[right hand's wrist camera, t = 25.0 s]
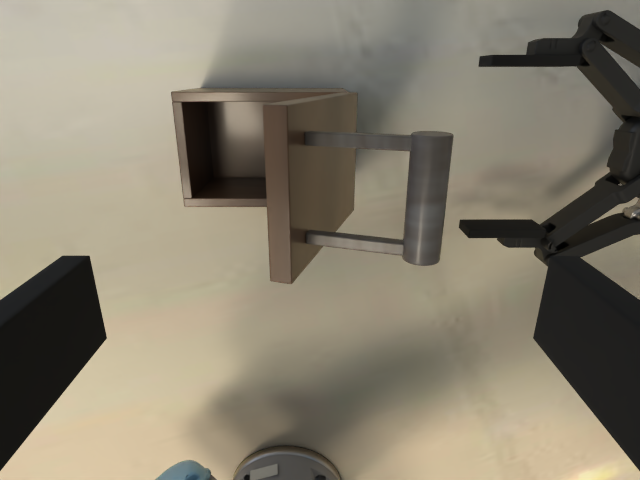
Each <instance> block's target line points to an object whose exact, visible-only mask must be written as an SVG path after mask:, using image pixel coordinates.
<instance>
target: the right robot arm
mask: <svg viewBox="0 0 640 480" xmlns="http://www.w3.org/2000/svg"><path fill="white" fill-rule="evenodd" d="M106 338H107V337H106V332H105V327H104V323H103V318H102V313H101V308H100V304H99V299H98V294H97V289H96V285H95V280H94V275H93V270H92V265H91V261H90V256H62V257H60V258H59V259H57V260H56V261H55V262H53V263H52V264H50V265H49V266H48V267H46V268H45V269H43V270H42V271H41V272H39V273H38V274H36V275H35V276H34V277H32V278H31V279H29V280H28V281H27V282H25V283H24V284H22V285H21V286H20V287H18V288H17V289H15V290H14V291H12V292H11V293H10V294H8V295H7V296H5V297H4V298H3V299H1V300H0V471H1V469H2V468H3V467H4V466H5V464H6V463H7V462H8V461H9V459H10V458H11V457H12V456H13V454H14V453H15V452H16V451H17V449H18V448H19V447H20V446H21V444H22V443H23V442H24V441H25V439H26V438H27V437H28V436H29V434H30V433H31V432H32V431H33V429H34V428H35V427H36V426H37V424H38V423H39V422H40V421H41V420H42V418H43V417H44V416H45V415H46V413H47V412H48V411H49V410H50V408H51V407H52V406H53V405H54V403H55V402H56V401H57V400H58V398H59V397H60V396H61V395H62V393H63V392H64V391H65V390H66V388H67V387H68V386H69V385H70V383H71V382H72V381H73V380H74V378H75V377H76V376H77V375H78V373H79V372H80V371H81V370H82V368H83V367H84V366H85V365H86V363H87V362H88V361H89V360H90V358H91V357H92V356H93V355H94V353H95V352H96V351H97V350H98V348H99V347H100V346H101V345H102V343H103V342H104V341H105V340H106ZM533 338H534V340H535V341H536V342H537V343H538V345H539V346H540V347H541V348H542V350H543V351H544V352H545V353H546V355H547V356H548V357H549V358H550V360H551V361H552V362H553V363H554V365H555V366H556V367H557V368H558V370H559V371H560V372H561V373H562V375H563V376H564V377H565V378H566V380H567V381H568V382H569V383H570V385H571V386H572V387H573V388H574V390H575V391H576V392H577V393H578V395H579V396H580V397H581V398H582V400H583V401H584V402H585V403H586V405H587V406H588V407H589V408H590V410H591V411H592V412H593V413H594V415H595V416H596V417H597V418H598V420H599V421H600V422H601V423H602V424H603V426H604V427H605V428H606V429H607V431H608V432H609V433H610V434H611V436H612V437H613V438H614V439H615V441H616V442H617V443H618V444H619V446H620V447H621V448H622V449H623V451H624V452H625V453H626V454H627V456H628V457H629V458H630V459H631V461H632V462H633V463H634V464H635V466H636V467H637V468H638V469H639V471H640V300H639V299H637V298H636V297H635V296H633V295H632V294H630V293H629V292H627V291H626V290H625V289H623V288H622V287H620V286H619V285H618V284H616V283H615V282H613V281H612V280H611V279H609V278H608V277H606V276H605V275H604V274H602V273H601V272H599V271H598V270H597V269H595V268H594V267H592V266H591V265H590V264H588V263H587V262H585V261H584V260H583V259H581V258H580V257H578V256H550V261H549V265H548V270H547V275H546V280H545V285H544V289H543V294H542V299H541V304H540V308H539V313H538V318H537V323H536V327H535V332H534V337H533Z"/></svg>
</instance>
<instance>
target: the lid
mask: <svg viewBox="0 0 640 480" xmlns="http://www.w3.org/2000/svg"><path fill="white" fill-rule="evenodd" d="M356 124H357V93H355V92H341V93H334V94H328V95H321V96H315V97H308V98H302V99H295V100H289V101H283V102H276V103H270V104H264V105H263V127H264V150H265V172H266V194H267V217H268V239H269V262H270V280H271V281H274V282H280V283H287V284H292V283H293V282H294V281H295V279H296V278H297V277H298V276H299V275H300V273H301V272H302V271H303V270H304V269H305V267H306V266H307V265H308V264H309V263H310V262H311V260H312V259H313V258H314V257H315V256H316V254H317V253H318V252H319V251H320V250H321V248H322V247H323V246H328V247H336V248H344V249H353V250H361V251H369V252H377V253H385V254H394V255H402V258H403V259H404V260H405V261H406V262H408V263H411V264H415V265H421V266H428V265H434V264H436V263H438V262H439V260H440V252H441V243H442V234H443V225H444V216H445V207H446V198H447V189H448V180H449V171H450V162H451V153H452V144H453V134H451V133H447V132H437V131H419V132H413V133H412V134H411V135H396V134H372V133H356ZM356 148H359V149H378V150H397V151H410V160H409V173H408V186H407V199H406V212H405V225H404V238H403V240H399V239H390V238H381V237H372V236H363V235H354V234H345V233H336V231H337V229H338V228H339V227H340V226H341V225H342V223H343V222H344V221H345V220H346V219H347V217H348V216H349V215H350V214H351V213H352V212H353V210H354V189H355V157H356Z"/></svg>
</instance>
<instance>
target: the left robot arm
mask: <svg viewBox="0 0 640 480" xmlns="http://www.w3.org/2000/svg"><path fill="white" fill-rule="evenodd" d="M578 27H579V28H578V30H577V32H576V34H575V35H574V36H573V37H572V38H543V39H537V40H533V41H531V42H529V43H528V47H527V54H526V55H488V56H480V59H479V67H564V66H577V67H578V68H579V70H580V71H581V72H582V73H583V74H584V75H585V76H586V77H587V79H588V80H589V81H590V82H591V83H592V84H593V85H594V86H595V87H596V89H597V90H598V91H599V92H600V93H601V94H602V95H603V96H604V98H605V99H606V100H607V101H608V102H609V103H610V104H611V105H612V107H613V109H612V110H613V111H614V113H615V114H616V115H617V116H618V117H619V118H620V119H621V120H622V122H623V124H622V125H621V127H620V128H619V130H615V134H614V138H613V150H612V152H611V154H610V156H609V159H608V163H607V167H609V168H610V172H609V173H608V174H606V175H605V176H603V177H602V178H601V179H599V180H598V181H597V182H596V183H595V186H594V187H593V188H592V189H590V190H589V191H587V192H586V193H584V194H583V195H582V196H580V197H579V198H577V199H576V200H574V201H573V202H572V203H570V204H569V205H567V206H566V207H564V208H563V209H562V210H560V211H559V212H557V213H556V214H554V215H553V216H552V217H550V218H549V219H547V220H546V221H544V222H543V223H542V224H540V225H539V224H537V223H536V222H534V221H533V220H460V223H459V228H460V229H461V230H462V231H463V232H464V233H465V235H466V236H467V237H468V238H497V240H498V241H499V242H500V243H501V244H502V245H504V246H506V247H509V248H515V247H516V248H519V247H535V251H534V255H535V256H536V257H537V258H538V259H540V260H541V261H542V262H543V263H544V264H546V265H547V266H548V265H549V261H550V256H578V257H582V256H585V255H587V254H590V253H592V252H594V251H597V250H599V249H602V248H604V247H606V246H609V245H611V244H614V243H616V242H618V241H621V240H623V239H625V238H628V237H630V236H633V235H638V234H640V89H639V88H638V87H637V85H636V84H635V83H634V82H633V81H632V80H631V79H630V77H629V76H628V75H627V74H626V73H625V72H624V70H623V69H622V68H621V67H620V66H619V65H618V63H617V62H616V61H615V60H614V59H613V58H612V56H611V55H610V54H609V53H608V52H607V51H606V49H605V48H604V47H603V46H602V45H601V44H603V45H604V46H606V47H607V48H609V49H611V50H612V51H614V52H616V53H617V54H619V55H620V56H622V57H624V58H625V59H627V60H628V61H630V62H632V63H633V64H635V65H636V66H638V67H640V30H639V29H638V28H636V27H635V26H633V25H632V24H630V23H629V22H627V21H625V20H624V19H622V18H621V17H619V16H618V15H616V14H615V13H613V12H611V11H609V10H606V11H601V12H597V13H592V14H588V15H584V16H583V17H581V19H580V20H579V22H578ZM600 43H601V44H600ZM620 183H621V184H622V186H619V185H618V184H620ZM635 197H638V198H639V200H638V202H637V203H636V204H635V205H634V206H631V207H629V208H628V207H625V208H624V209H623V211H622V212H623V213H618V214H614V215H611V216H608V217H606V218H604V219H601V220H599V221H597V222H594V223H592V222H593V221H595V220H596V219H597V218H599V217H600V216H602V215H603V214H605V213H606V212H608V211H609V210H611V209H612V208H614V207H615V206H617V205H618V204H622V203H627V202H629V201H630V200H632V199H633V198H635ZM590 223H592V224H590ZM589 224H590V225H589ZM155 480H216V479H215V478H214V477H213V476H212V475H211V472H210V470H209V469H208V468H204V467H203V466H202V465H200V464H199V463H198V462H196V461H193V460H186V461H182V462H180V463H177V464H175V465H174V466H172V467H170V468H169V469H167V470H166V471H165V472H164V473H162V474H161V475H160V476H159V477H158V478H157V479H155ZM233 480H341V479H340V476H339V474H338V472H337V470H336V468H335V467H334V466H333V465H332V464H331V463H330V462H329V461H328V460H327V459H326V458H324V457H323V456H321V455H319V454H318V453H315V452H313V451H311V450H308V449H304V448H300V447H293V446H278V447H271V448H267V449H264V450H261V451H258V452H256V453H254V454H252V455H251V456H249V457H248V458H246V459H245V460H244V461H243V462H242V463H241V464H240V465H239V467H238V468H237V470H236V472H235V474H234V477H233Z"/></svg>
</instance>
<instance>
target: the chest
mask: <svg viewBox="0 0 640 480" xmlns="http://www.w3.org/2000/svg"><path fill="white" fill-rule="evenodd" d="M341 92H348V91H346V90H345V89H343V88H196V89H189V90H181V91H173V92H171V95H172V104H173V113H174V122H175V130H176V139H177V147H178V156H179V164H180V173H181V182H182V190H183V198H184V206H185V207H267V194H266V172H265V150H264V127H263V105H264V104H270V103H276V102H283V101H289V100H295V99H302V98H308V97H315V96H321V95H328V94H334V93H341Z"/></svg>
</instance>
